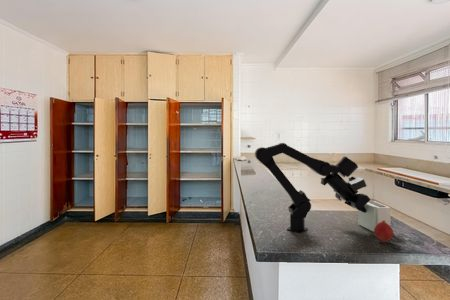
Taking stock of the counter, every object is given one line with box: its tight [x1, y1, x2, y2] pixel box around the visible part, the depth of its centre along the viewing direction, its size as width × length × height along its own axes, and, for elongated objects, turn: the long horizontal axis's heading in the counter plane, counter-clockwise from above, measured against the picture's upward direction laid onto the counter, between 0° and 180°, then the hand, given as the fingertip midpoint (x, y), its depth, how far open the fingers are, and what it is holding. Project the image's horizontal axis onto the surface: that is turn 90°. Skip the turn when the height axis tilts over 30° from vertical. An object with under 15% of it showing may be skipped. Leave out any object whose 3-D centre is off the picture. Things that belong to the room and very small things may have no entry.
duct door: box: [357, 204, 376, 233], centre depth 109 cm, size 1×10×10 cm, turn 6°
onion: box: [373, 220, 394, 243], centre depth 95 cm, size 6×6×8 cm
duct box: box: [367, 200, 391, 227], centre depth 110 cm, size 5×11×10 cm, turn 0°
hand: (365, 211), depth 109 cm, fingers closed
